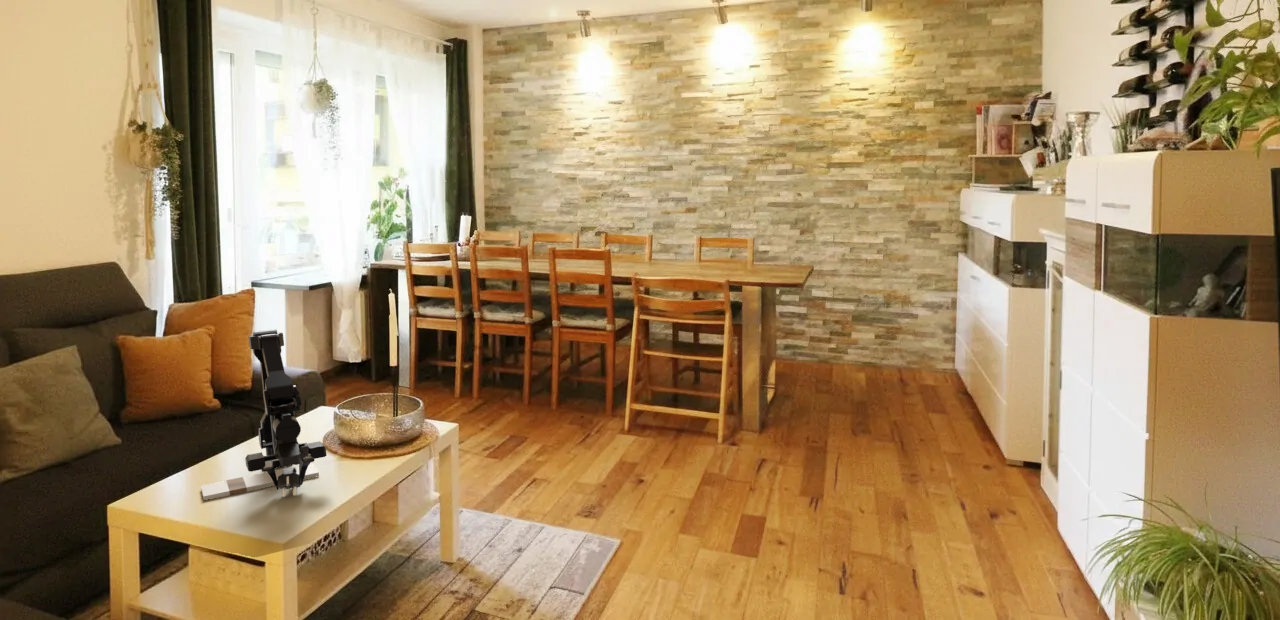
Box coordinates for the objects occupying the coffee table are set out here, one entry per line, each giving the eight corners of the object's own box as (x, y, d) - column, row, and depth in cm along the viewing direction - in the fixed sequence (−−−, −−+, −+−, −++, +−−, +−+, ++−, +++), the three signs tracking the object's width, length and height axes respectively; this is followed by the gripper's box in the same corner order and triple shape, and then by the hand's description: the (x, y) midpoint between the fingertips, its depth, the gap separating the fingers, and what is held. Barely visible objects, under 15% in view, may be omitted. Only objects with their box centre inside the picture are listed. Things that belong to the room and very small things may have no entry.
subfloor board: (201, 489, 205) (201, 485, 205) (313, 467, 220) (312, 462, 220) (203, 500, 198) (203, 496, 198) (318, 476, 213) (318, 472, 213)
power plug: (306, 475, 211) (299, 464, 200) (306, 502, 208) (299, 492, 197) (284, 478, 209) (275, 466, 199) (284, 505, 206) (275, 495, 196)
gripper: (247, 446, 188) (254, 506, 191) (328, 431, 198) (333, 488, 201) (242, 433, 197) (248, 491, 200) (319, 420, 207) (324, 475, 210)
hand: (289, 486), depth 202 cm, fingers closed on power plug, 5 cm apart
